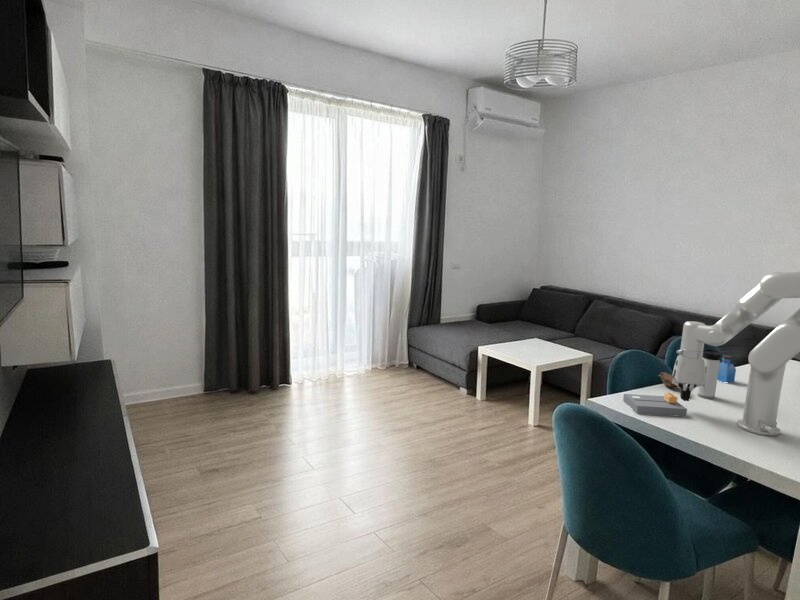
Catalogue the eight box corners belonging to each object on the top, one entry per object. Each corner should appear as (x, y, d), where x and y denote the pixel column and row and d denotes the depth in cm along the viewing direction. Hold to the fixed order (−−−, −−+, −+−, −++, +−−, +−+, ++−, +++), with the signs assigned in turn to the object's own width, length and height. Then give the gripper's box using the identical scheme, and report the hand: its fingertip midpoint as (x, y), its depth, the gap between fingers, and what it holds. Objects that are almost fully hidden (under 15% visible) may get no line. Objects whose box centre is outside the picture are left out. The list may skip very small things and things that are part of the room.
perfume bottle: (712, 379, 241) (716, 355, 239) (721, 378, 244) (724, 354, 242) (725, 383, 235) (729, 358, 234) (734, 382, 238) (737, 357, 236)
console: (686, 416, 189) (687, 408, 188) (636, 413, 190) (637, 405, 189) (668, 403, 203) (669, 396, 202) (623, 400, 204) (623, 393, 203)
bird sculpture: (678, 397, 211) (680, 386, 211) (651, 379, 236) (652, 369, 235) (694, 398, 211) (696, 386, 211) (665, 380, 236) (666, 370, 235)
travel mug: (709, 394, 217) (715, 349, 214) (717, 399, 211) (724, 353, 208) (694, 393, 218) (700, 348, 215) (701, 398, 211) (708, 352, 208)
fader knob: (676, 403, 193) (677, 396, 193) (668, 402, 194) (669, 395, 193) (671, 399, 197) (672, 392, 197) (663, 399, 198) (664, 392, 197)
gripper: (675, 355, 189) (669, 401, 192) (716, 357, 188) (709, 404, 191) (666, 350, 197) (660, 395, 199) (706, 352, 196) (699, 398, 198)
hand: (684, 399), depth 195 cm, fingers closed
